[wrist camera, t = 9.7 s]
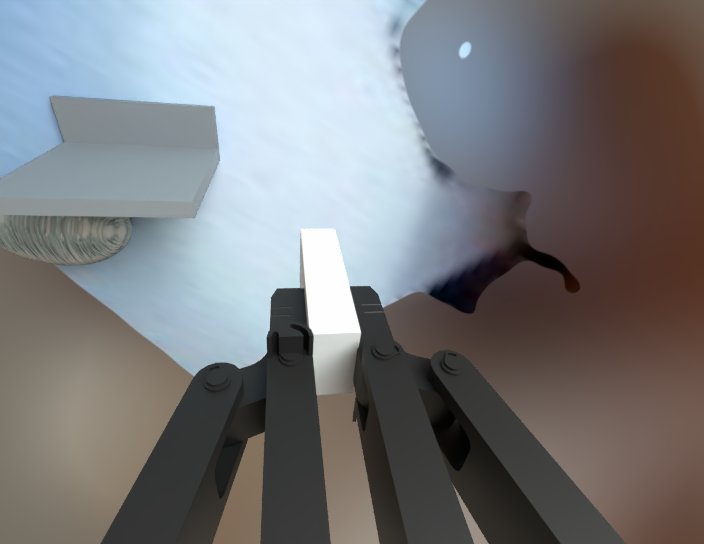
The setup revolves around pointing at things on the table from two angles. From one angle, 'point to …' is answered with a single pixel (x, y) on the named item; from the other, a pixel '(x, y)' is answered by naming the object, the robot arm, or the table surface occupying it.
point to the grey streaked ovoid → (64, 237)
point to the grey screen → (119, 162)
